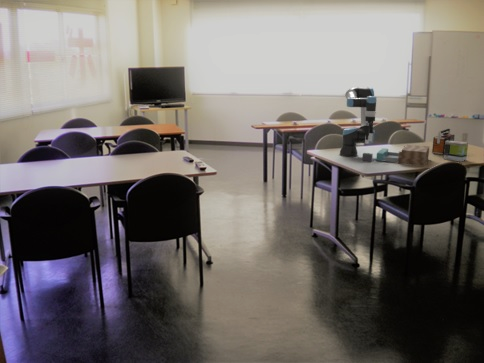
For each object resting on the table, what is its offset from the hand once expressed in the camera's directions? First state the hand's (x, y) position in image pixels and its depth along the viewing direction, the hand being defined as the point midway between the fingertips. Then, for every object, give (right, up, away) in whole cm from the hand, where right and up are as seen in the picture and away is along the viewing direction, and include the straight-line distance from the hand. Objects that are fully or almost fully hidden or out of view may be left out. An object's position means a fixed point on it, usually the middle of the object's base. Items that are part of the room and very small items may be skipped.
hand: (368, 142), depth 401 cm
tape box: (0, -15, +4) cm, 15 cm away
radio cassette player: (+77, -6, +43) cm, 89 cm away
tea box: (+75, -13, +12) cm, 77 cm away
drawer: (+23, -13, +10) cm, 28 cm away
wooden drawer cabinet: (+38, -15, +4) cm, 41 cm away
